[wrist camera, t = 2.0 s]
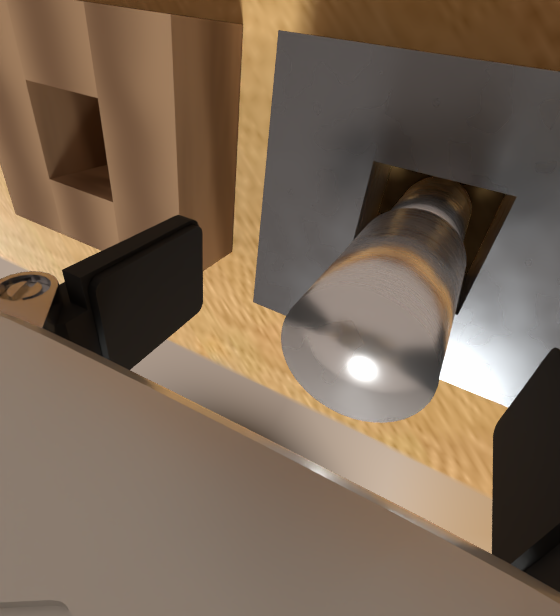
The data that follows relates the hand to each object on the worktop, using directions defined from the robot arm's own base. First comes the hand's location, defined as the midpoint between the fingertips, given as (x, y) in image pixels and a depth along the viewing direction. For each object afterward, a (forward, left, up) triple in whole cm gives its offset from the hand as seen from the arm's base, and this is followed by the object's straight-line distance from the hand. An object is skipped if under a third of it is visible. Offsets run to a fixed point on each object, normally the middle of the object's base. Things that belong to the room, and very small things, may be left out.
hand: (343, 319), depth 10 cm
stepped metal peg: (-1, 0, -11) cm, 11 cm away
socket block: (-1, 0, -11) cm, 11 cm away
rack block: (+14, -11, -11) cm, 20 cm away
